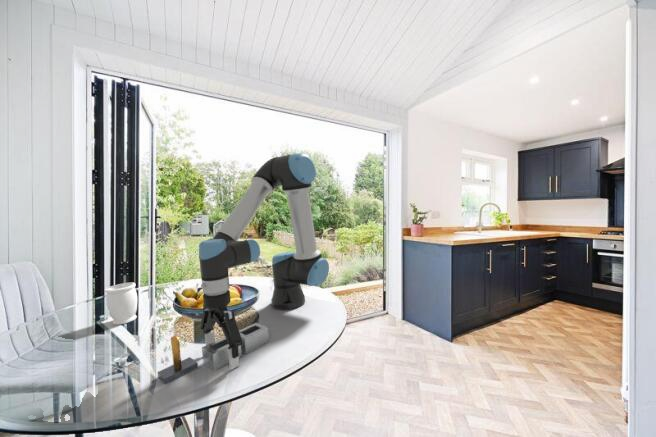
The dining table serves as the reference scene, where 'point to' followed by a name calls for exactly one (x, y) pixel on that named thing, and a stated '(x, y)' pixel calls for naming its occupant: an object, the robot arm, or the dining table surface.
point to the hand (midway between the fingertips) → (222, 359)
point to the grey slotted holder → (253, 337)
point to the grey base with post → (176, 364)
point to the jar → (122, 302)
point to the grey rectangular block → (217, 354)
